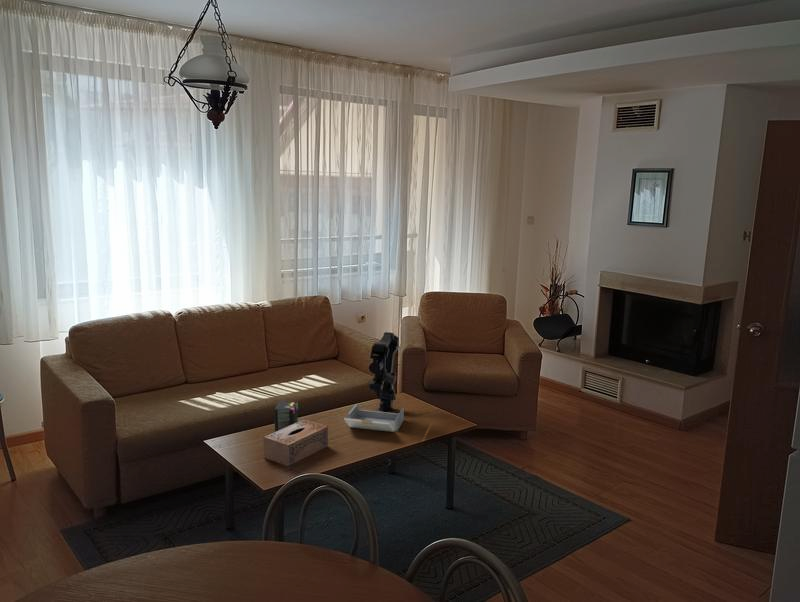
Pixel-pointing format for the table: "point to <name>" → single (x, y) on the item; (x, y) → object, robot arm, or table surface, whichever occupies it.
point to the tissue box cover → (295, 442)
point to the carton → (378, 416)
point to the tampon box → (285, 414)
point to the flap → (369, 424)
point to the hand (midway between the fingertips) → (379, 397)
